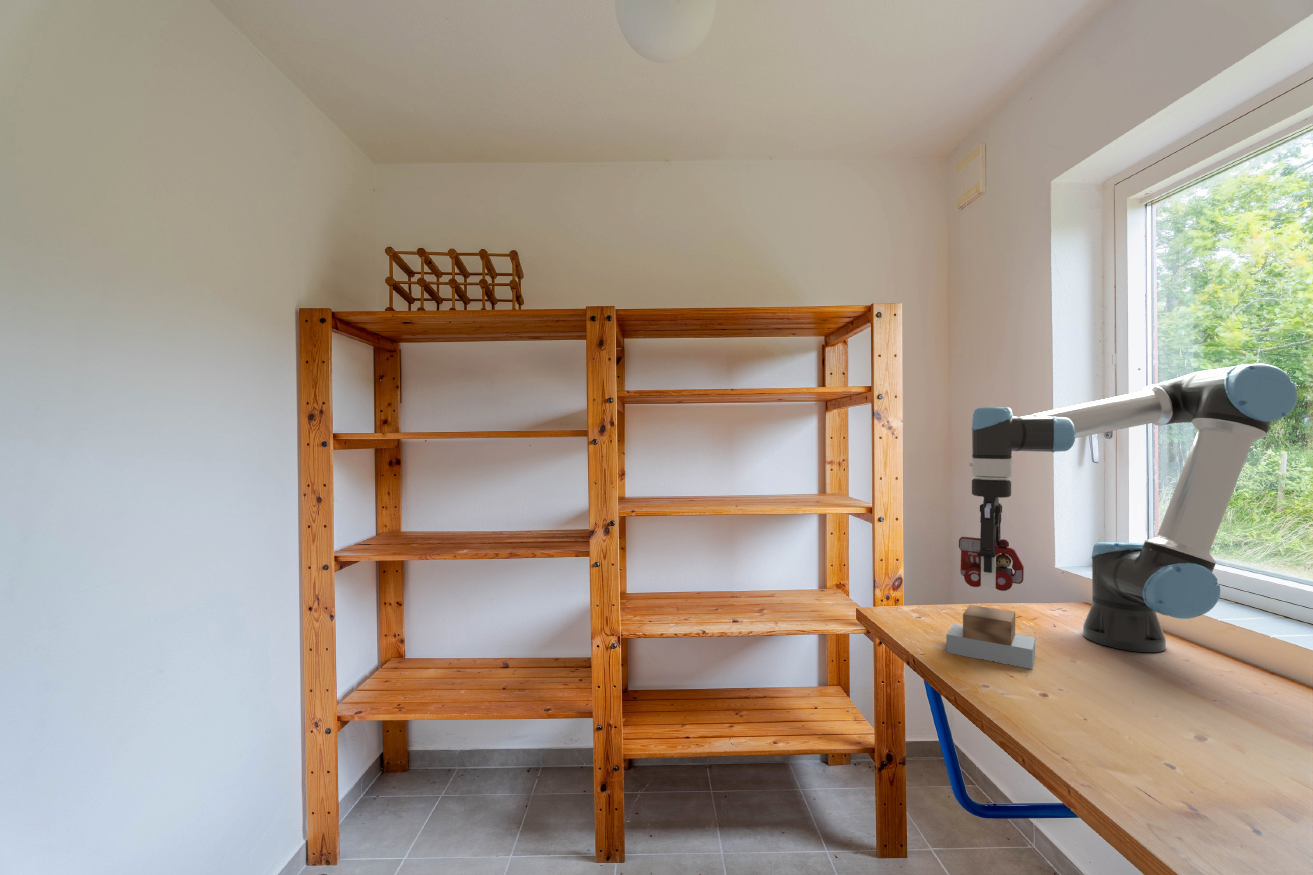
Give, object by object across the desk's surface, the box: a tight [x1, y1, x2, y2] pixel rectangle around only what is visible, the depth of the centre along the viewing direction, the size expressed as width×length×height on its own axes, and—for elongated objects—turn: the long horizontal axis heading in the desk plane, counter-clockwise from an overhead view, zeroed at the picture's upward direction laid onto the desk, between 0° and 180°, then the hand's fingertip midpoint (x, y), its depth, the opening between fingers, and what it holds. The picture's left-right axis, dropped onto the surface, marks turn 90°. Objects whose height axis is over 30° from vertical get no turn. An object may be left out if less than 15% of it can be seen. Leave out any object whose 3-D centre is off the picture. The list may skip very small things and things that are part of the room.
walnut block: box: [962, 604, 1016, 646], centre depth 129 cm, size 9×9×5 cm
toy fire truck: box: [958, 536, 1025, 592], centre depth 129 cm, size 7×12×10 cm, turn 56°
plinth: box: [945, 623, 1036, 670], centre depth 129 cm, size 16×9×4 cm, turn 54°
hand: (990, 583), depth 129 cm, fingers closed on toy fire truck, 7 cm apart
